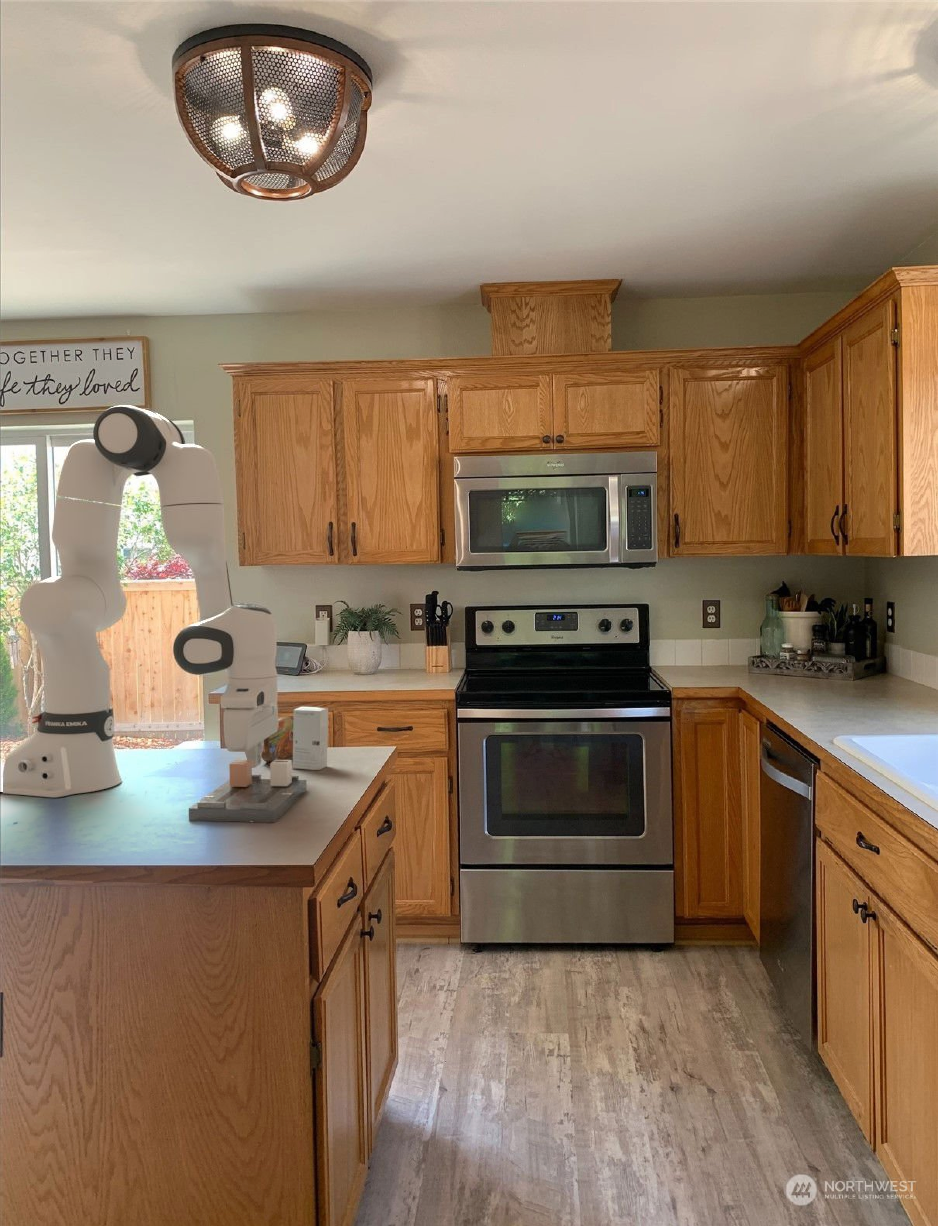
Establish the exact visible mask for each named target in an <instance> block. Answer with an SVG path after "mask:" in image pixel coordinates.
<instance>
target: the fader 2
mask: <svg viewBox="0 0 938 1226" xmlns="http://www.w3.org/2000/svg"><path fill="white" fill-rule="evenodd" d="M269 765H270V766H269V768H270V769H269V773H270V774H269V775H270V776H269V779H270V786H288V785H289V784H290V783H291V782H292V776H293V771H292V770H293V759H283V760H274V761H273V762H269Z"/></svg>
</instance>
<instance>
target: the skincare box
mask: <svg viewBox="0 0 938 1226" xmlns="http://www.w3.org/2000/svg"><path fill="white" fill-rule="evenodd" d="M293 718H294V721H293V754H292V769H301V770H311V771H319V770H323V769H324V768H326V767H327V766H328V740H329V739H328V737H329V736H328V735H329V733H328V731H329V730H328V729H329V728H328V727H329V708H328V707H319V706H318V707H317V706H299V707H297V708H295V709H293Z"/></svg>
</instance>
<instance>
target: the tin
mask: <svg viewBox="0 0 938 1226" xmlns="http://www.w3.org/2000/svg"><path fill="white" fill-rule="evenodd" d="M293 721H294V716H291V715H290V716H280V717H278V723H279V724H278V730H277V732H275V733H274V734H272V735H271V736H269V737H268V738H266V739H264V746H263V751H262V755H261V760H263V761H264V762H266V763H272V762H273V761H274V760H286V759H287V758H289V757H290V756H293Z"/></svg>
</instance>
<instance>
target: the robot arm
mask: <svg viewBox="0 0 938 1226" xmlns="http://www.w3.org/2000/svg"><path fill="white" fill-rule="evenodd" d="M182 432H183V431H182V430H181V429H180V428H179V427H178V426H177V425H176V424H175V423H174V422H173V421H172V420H171V419H169V418H167V417H164V416H163V415H161V414H160V413H159V414H158V413H157V412H155V411H152V410H149V409H142V408H139V407H137V406H134V405H127V404H125V405H124V404H122V405H114V406H113V407H110V408H108V409H106V410H104V411H103V412H102V413H101V414H100V415H99V416H98V417H97V418H96V421H95V423H94V426H93V432H92V433H93V434H92V435H93V439H82V440H79V441H77V442H74V443H73V444H71V446H70V447H69V448H68V449H67V453H66V455H65V458H64V460H63V465H62V468H61V471H60V475H59V479H58V485H57V489H56V490H57V491H56V499H55V507H54V514H53V523H52V532H51V540H52V542H53V545H54V547H55V548H56V550H57V553H58V557H59V562H60V572H61V575H59V576H57V575H56V576H51V577H47V578H45V579H43V580H40V581H38V582H36V583H34V584H32V585H30V586H29V587H28V588H26V590H25V591H24V593H23V594H22V596H21V598H20V602H19V613H20V614H19V615H20V617H21V620H22V622H23V623H24V625H25V626H26V627H27V629H29V630H30V632H31V633H32V635H33V638H34V639H35V642H36V645H37V647H38V652H39V654H40V658H41V661H42V665H43V672H44V687H45V688H44V689H45V711H42V712H41V713H40V714H38V715H36V716H32V718H31V719H33V721H31V724H36V723H37V724H38V726H37V728H36V731H35V733H33V734H32V735H31V736H29V737H28V738H27V739H25V740H24V741H23V742H22V743H21V744H19V745H18V746H16V748H14V749H13V750H12V751H10V752H9V753H8V755H7V756H6V758H5V761H4V764H3V771H2V777H3V793H2V794H10V795H22V796H33V797H43V798H44V797H46V798H62V797H65V796H66V797H67V796H70V795H75V794H83V793H90V792H95V791H96V792H97V791H101V790H104V789H109V788H112V787H116V786H117V785H119V784H120V783H121V782H122V781H123V780H122V777H121V775H120V771H119V768H118V764H117V759H116V755H115V754H116V753H115V747H114V735H115V734H114V733H115V721H114V718H115V717H114V707H112V705H111V704H112V700H111V698H112V697H111V669H110V665H109V663H108V661H107V660H106V659H105V658H104V656H103V654H102V650H101V647H100V644H99V641H98V634H97V633H98V632H103V631H106V630H107V629H109V628H112V626H114V625H115V624H116V623H119V621H120V620H121V619H122V618H123V616H124V615H125V613H126V610H127V605H128V603H127V597H126V594H125V591H124V590H123V588H122V586H121V580H120V572H119V571H120V570H119V563H118V562H119V561H118V539H119V529H120V523H121V513H122V505H123V504H122V503H123V496H124V495H123V494H124V489H125V485H126V482H127V480H128V479H129V478H130V477H131V476H132V475H133V476H136V477H142V476H148V475H151V476H152V477H153V478H154V479H155V482H156V484H157V486H158V493H159V503H160V504H159V505H160V506H159V507H160V516H161V523H162V528H163V532H164V535H165V538H166V542H167V544H168V545H169V546H170V548H171V550H173V551H174V552H175V553H177V554H178V555H179V556H180V557H181V558H182V559H183V560H184V561H185V563H186V564H187V565H188V567H189V568H190V569H191V573H192V574H193V578H194V581H195V582H194V583H195V589H196V597H197V605H198V609H199V610H198V612H199V621H198V622H195V623H193V624H190V625H188V626H186V627H185V628H183V629H182V630H180V631H179V633H178V634H177V635H176V637H175V639H174V641H173V647H172V651H173V652H172V653H173V657H174V660H175V662H176V663H177V665H178V667H179V668H180V669H182V671H184V672H186V673H188V674H191V675H196V676H207V675H210V674H211V675H212V674H214V673H217V672H221V671H223V672H226V673H227V685H226V689H225V691H224V692H223V694H222V695H221V697H220V708H221V709H224V712H223V718H222V719H223V734H224V744H225V747H226V749H227V752H231V753H242V752H243V753H244V754H245V757H246V760H249V761H252V769H255V768H257V767H258V766H259V765H261V764H262V757H261V755H262V751H263V746H264V739H266V738H268V737H269V736H271V735H272V734H274V733H275V732H277V730H278V724H279V723H278V718H279V709H278V698H279V697H278V696H279V695H278V671H277V668H276V662H275V661H276V656H277V651H278V650H277V649H278V644H277V632H276V631H277V630H276V624H275V619H274V615H273V613H272V612H271V611H270V610H269V609H268V608H266V607H264V606H261V605H257V604H252V603H241V602H240V603H233V597H232V589H231V583H230V576H229V569H228V562H227V549H226V546H227V545H226V525H225V524H226V523H225V522H226V520H225V505H224V496H223V489H222V484H221V479H220V478H221V477H220V475H219V470H218V467H217V463H216V459H215V457H214V456H213V454H212V453H211V451H209V450H208V449H206V448H205V447H202V446H200V445H197V444H189V443H187V444H186V440H185V437H184V434H183V433H182Z"/></svg>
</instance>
